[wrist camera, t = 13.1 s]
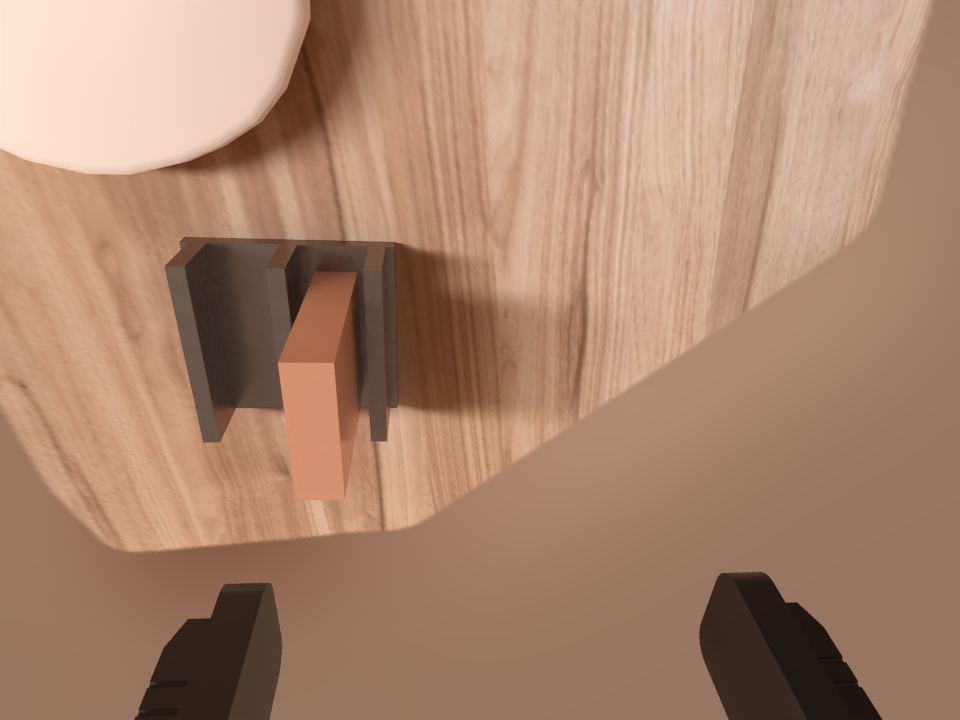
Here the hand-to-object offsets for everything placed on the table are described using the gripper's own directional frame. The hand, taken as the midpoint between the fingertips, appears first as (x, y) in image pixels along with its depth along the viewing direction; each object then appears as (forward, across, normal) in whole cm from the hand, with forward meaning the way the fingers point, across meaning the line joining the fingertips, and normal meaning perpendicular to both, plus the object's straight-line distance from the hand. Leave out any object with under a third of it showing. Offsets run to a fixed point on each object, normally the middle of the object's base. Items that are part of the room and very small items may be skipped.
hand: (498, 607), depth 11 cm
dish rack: (+36, +11, +13) cm, 40 cm away
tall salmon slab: (+35, +8, +13) cm, 38 cm away
